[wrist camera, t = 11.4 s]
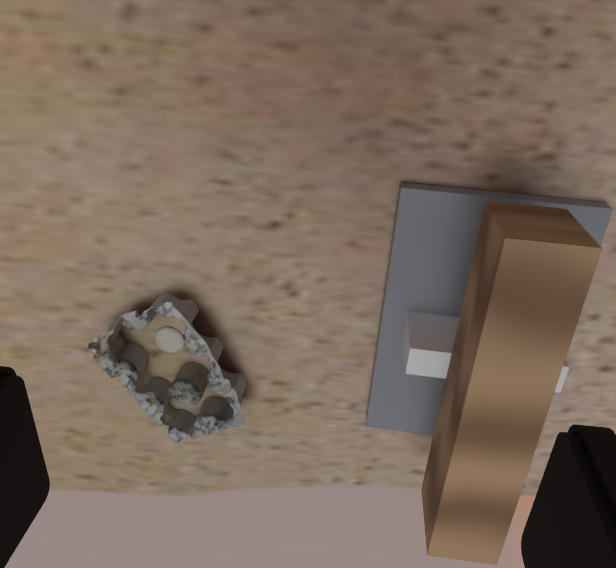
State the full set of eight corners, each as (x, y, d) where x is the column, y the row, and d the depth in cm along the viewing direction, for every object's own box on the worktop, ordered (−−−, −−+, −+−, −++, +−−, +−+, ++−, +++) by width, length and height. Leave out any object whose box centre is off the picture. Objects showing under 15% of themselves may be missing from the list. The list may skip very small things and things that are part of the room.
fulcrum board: (400, 182, 34) (404, 213, 29) (605, 202, 33) (645, 237, 28) (366, 415, 42) (364, 471, 37) (529, 436, 42) (550, 496, 37)
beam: (485, 200, 28) (505, 238, 24) (567, 208, 28) (602, 248, 24) (421, 489, 38) (427, 554, 33) (482, 497, 37) (496, 564, 33)
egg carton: (105, 311, 41) (78, 341, 38) (193, 278, 39) (173, 306, 35) (177, 422, 45) (159, 459, 41) (260, 397, 43) (249, 433, 39)
